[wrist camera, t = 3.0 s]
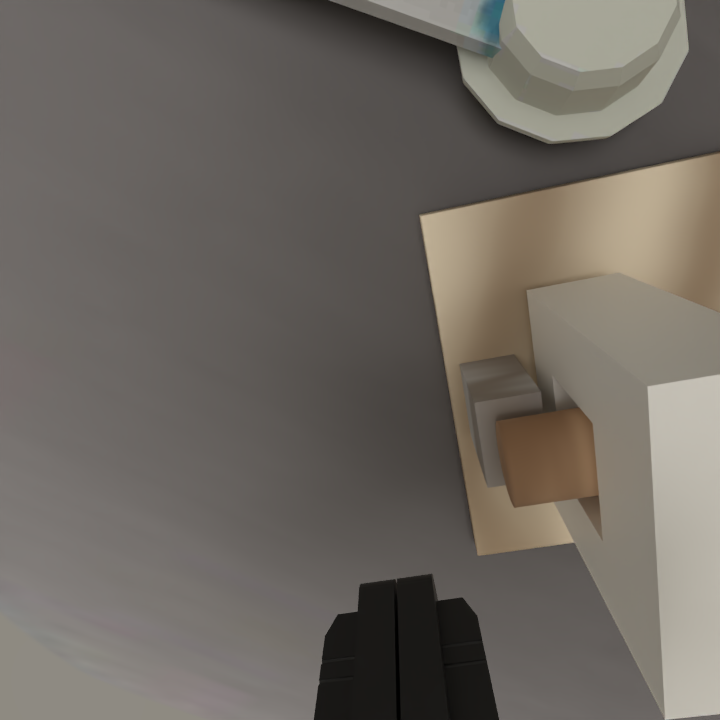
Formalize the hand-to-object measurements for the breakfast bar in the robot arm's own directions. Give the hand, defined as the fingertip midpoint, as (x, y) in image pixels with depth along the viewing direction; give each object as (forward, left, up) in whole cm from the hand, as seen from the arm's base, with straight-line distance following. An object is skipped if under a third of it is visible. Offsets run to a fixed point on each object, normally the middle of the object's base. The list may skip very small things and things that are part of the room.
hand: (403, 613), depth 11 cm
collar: (-7, 0, -9) cm, 11 cm away
